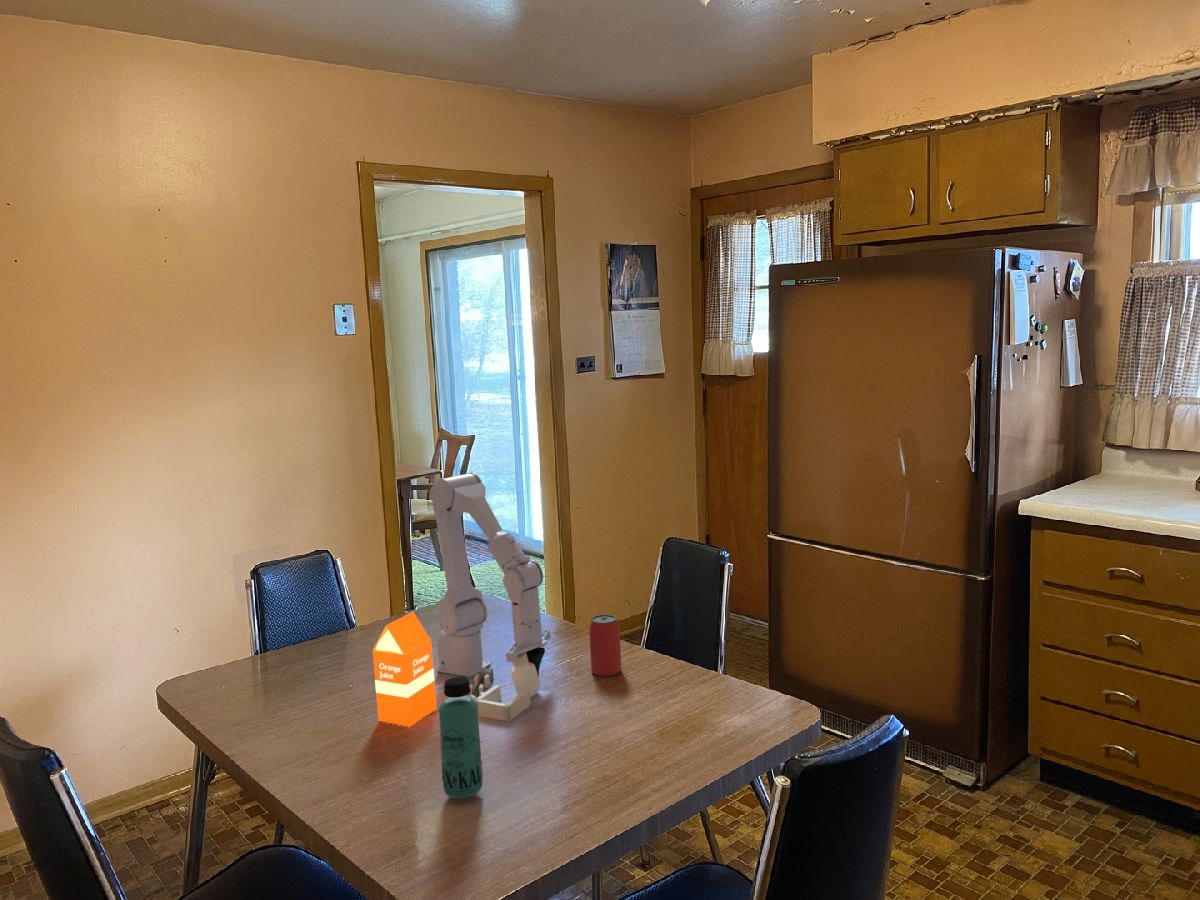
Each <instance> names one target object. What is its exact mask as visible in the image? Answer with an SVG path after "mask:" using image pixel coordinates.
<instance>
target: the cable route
mask: <svg viewBox="0 0 1200 900" xmlns="http://www.w3.org/2000/svg"><path fill="white" fill-rule="evenodd" d="M477 674H480V682H479V683H478V684H477V686H476V687H474V689H473V695H474V696H475V697H476V698H478V695H479V686H480V685H482V684H483V685H484V677H485V676H486V675H490V682H491V683H492V682H493V680H494V678H495V677H494V668H493V667H492V668H489V667H486V668H481V669H480V670H479V672H478V673H477Z"/></svg>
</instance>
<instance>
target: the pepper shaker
mask: <svg viewBox="0 0 1200 900" xmlns="http://www.w3.org/2000/svg"><path fill="white" fill-rule="evenodd" d="M512 665H513V666H512V668H511V670H510V676H511V678H512V679H511V680H512V683H513V685H514V689H515V692H516V694H517V696H518V695H519V694H521V693H522V692H523V691H525V690H527V691H529V692H530V699H531V698H533V697H534V696H535V695H536V694H537V693H538V691H539V690H540V689H541V685H542V684H541V681H540V677H539V678H538V674H537V671H536V667H535V665H534V664H533V663H531V662H528V658H527V655H526V652H524V653H521V654H519V656H518V657H517V661H516V662H512Z"/></svg>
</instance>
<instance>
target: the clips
mask: <svg viewBox="0 0 1200 900" xmlns="http://www.w3.org/2000/svg"><path fill="white" fill-rule="evenodd" d="M473 681H474V685H473V684H470V689H471V691H470V693H469V694H467V696H469V697H470V698H472V699H473V700H475V699H476V697H475V696H474V695H473V693H474V688H475V687H476V686H477V684H478V683H479V682H480V674H478V673H477V674H475V675H474V676H473ZM491 685H492V682H490V675H486V676H485V677H484V685H483V684H482V685H480V686H479V695H478V697H479V696H481V695H482V694H484V693H485V692H486V691H485V689H489V688H490V686H491Z"/></svg>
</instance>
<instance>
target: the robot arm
mask: <svg viewBox="0 0 1200 900" xmlns="http://www.w3.org/2000/svg"><path fill="white" fill-rule="evenodd" d="M430 495H431V501H432V507H433V514H434V515H435V520H436V521H435V522H436V527H437V533H438V539H439V545H440V552H441V558H442V563H443V564H442V565H443V570H444V575H445V576H444V577H445V583H446V588H447V589H446V591H445V592H444V593H443V595H442V597H441V598H440V599H439V601H438V605H439V608H438V609H439V611H438V624H439V626H440V627H441V631H440V632H439V634H438V637H437V644H436V645H437V646H436V647H437V657H438V668H437V669H436V672H438V673H446V674H449V673H450V675H456V676H462V677H466V678H472V677H475V675H476V674H478V672H479V670H480V669H481V668H489V667H490V666H491V665H492V663H491V662H489V661H486V660H485V661H484V660H483V659H484V658H483V647H482V635H481V634H482V633H481V632H482V631H481V629H483V628H484V623H485V622H486V620H487V619H488V607H487V606H486V603H485V600H484V599H483V594H482V591H481V590H480V589H478V588H475V587H474V586H473V585H472V580H471V579H472V578H471V574H470V573H471V572H470V568H469V560H468V556H467V549H466V543H465V536H464V531H463V530H464V529H463V525H462V516H463V514H464V513H466V514H469V515H470V517H471V518H472V519H473V521H474V522H475V523H476V525H477V526H478V527H479V529H481V531H482V532H483V534H484V535H485V537H486V538H487V539H488V544H487V549H488V551H489V552H490V554H491V556H492V557H493V559H494V560H495V562H496V563H497V565H498V566H499V568H500V569H501V571H502V573H503V574H504V575H503V576H504V577H503V578H502V582H503V586H504V588H505V589H506V591H507V597H508V598H507V599H509V600H508V601H510V602H511V613H512V626H513V627H512V628H513V635H514V636H513V637H514V639H513V640H514V641H513V643H512V644H511V646H510V647H509V648H508V650H507V651H506V652H505V661H506V662H507V663H508V662H509V663H513V662H516V661H517V657H518V656H519V654H521V653H524V652H526V655H527V658H528V662H531V663H533V664H534V665H535V667H536V671H537V674H538V678H539V679H540V668H541V667H540V666H541V663H542V661H543V657H544V655H545V653H546V649H545V648H544V647H546V646H547V645H548V641H547V640H550V639H552V638H551V629H547V628H546V629H545V628H542V619H541V617H542V616H541V610H540V609H541V606H540V596H539V595H540V593H539V587H540V586H541V585H542V583H543V581H544V572H543V570H542V567H541V566H540V563H539V562H538V561H536V560H534V559H532V558H531V557H530V556H528V555H526V553H524V551H523V549H522V548H521V546H520V545H519V543H518V542H517V540H516V539H515V537H514V536H513V534H512V533H511V532H507V531H505V530H503V528H502V527H501V524H500V523H499V521H498V519H497V517H496V515H495V514H494V512H493V509H492V508H491V506H490V504H489V502H488V501H487V498H486V486H485V484H484V483H483V481H482V479H481V477H480V476H479V475H478V474H477V473H476V472H468V473H465V474H459V475H454V476H449V477H445V478H444V477H443V478H442V477H441V478H438V479H436V480H435V481H434V482H433V484H432V486H431V488H430Z"/></svg>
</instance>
